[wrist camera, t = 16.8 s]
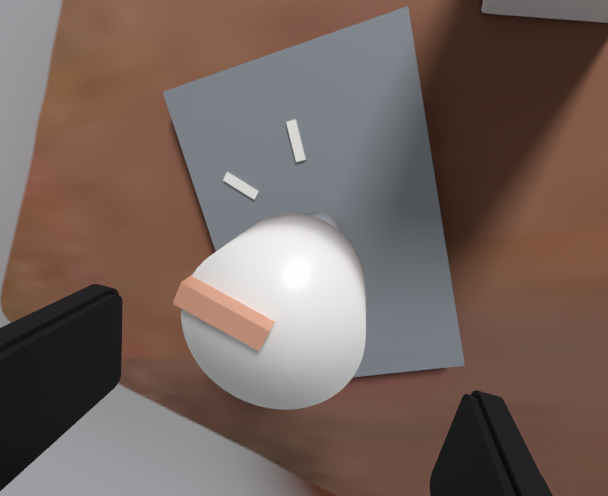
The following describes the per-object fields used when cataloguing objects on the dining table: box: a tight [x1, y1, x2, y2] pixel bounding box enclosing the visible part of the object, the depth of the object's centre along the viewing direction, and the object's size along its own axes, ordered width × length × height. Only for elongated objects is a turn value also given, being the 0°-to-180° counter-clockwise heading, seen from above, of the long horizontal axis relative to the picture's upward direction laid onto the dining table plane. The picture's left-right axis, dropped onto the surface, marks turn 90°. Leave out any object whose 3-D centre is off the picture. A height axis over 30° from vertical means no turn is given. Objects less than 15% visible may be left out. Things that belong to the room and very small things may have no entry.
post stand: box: [163, 6, 465, 377], centre depth 19 cm, size 22×15×10 cm
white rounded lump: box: [173, 213, 366, 410], centre depth 12 cm, size 6×6×5 cm
